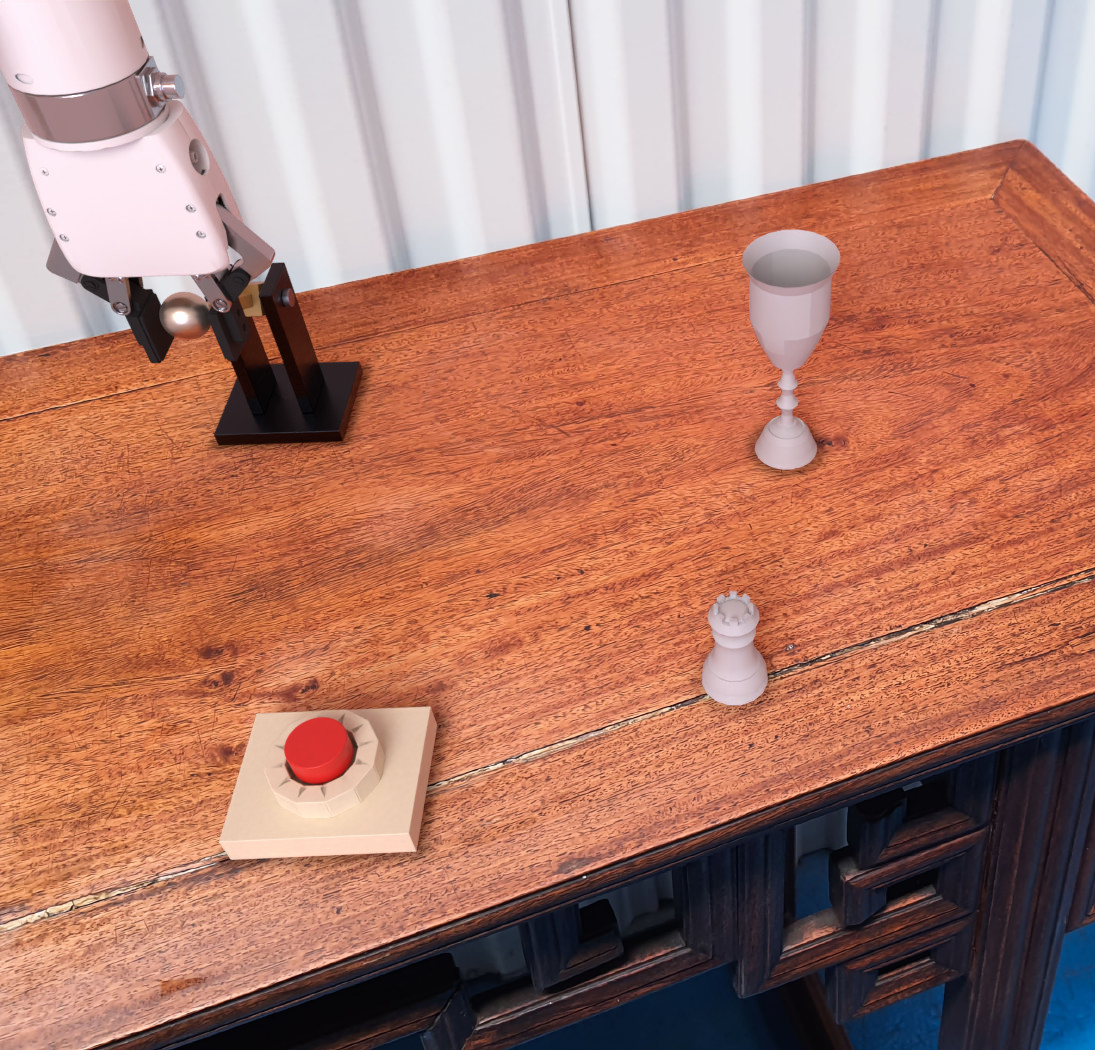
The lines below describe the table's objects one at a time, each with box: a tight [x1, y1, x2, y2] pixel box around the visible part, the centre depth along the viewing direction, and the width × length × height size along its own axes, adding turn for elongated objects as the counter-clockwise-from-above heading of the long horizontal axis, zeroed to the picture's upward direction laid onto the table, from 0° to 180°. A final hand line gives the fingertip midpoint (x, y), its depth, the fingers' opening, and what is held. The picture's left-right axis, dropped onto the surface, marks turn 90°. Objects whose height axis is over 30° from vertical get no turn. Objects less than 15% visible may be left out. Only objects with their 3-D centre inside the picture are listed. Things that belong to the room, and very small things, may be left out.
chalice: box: [741, 229, 841, 471], centre depth 88 cm, size 7×7×18 cm
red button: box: [284, 717, 354, 784], centre depth 69 cm, size 4×4×2 cm
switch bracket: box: [203, 262, 364, 446], centre depth 93 cm, size 9×10×13 cm
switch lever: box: [159, 280, 266, 341], centre depth 84 cm, size 15×3×3 cm, turn 3°
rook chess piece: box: [701, 590, 769, 706], centre depth 75 cm, size 4×4×8 cm
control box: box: [218, 706, 438, 861], centre depth 71 cm, size 11×9×4 cm
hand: (199, 347), depth 80 cm, fingers open, 4 cm apart
